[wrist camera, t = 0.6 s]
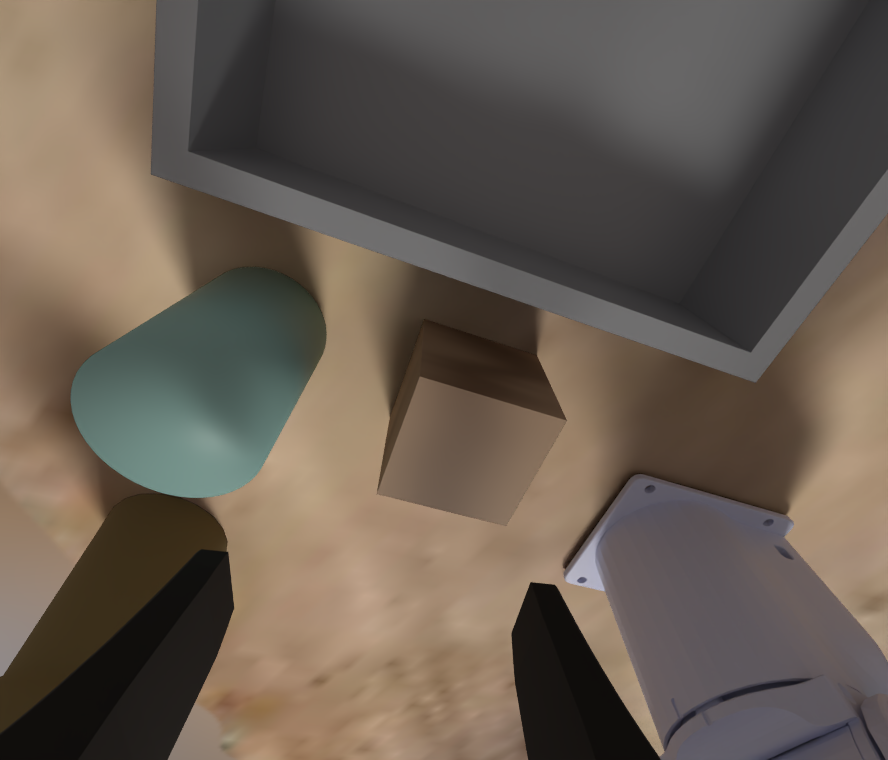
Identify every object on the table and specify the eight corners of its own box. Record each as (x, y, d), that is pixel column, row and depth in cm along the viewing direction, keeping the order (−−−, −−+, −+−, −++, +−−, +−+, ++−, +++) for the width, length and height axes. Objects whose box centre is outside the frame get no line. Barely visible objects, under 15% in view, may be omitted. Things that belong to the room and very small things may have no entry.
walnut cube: (536, 354, 19) (566, 420, 14) (491, 445, 21) (505, 526, 17) (424, 318, 18) (420, 376, 13) (389, 416, 20) (376, 493, 16)
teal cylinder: (338, 291, 17) (283, 375, 11) (313, 396, 19) (255, 514, 13) (205, 248, 16) (65, 313, 10) (195, 362, 19) (75, 472, 12)
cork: (115, 477, 21) (-150, 754, 12) (240, 517, 23) (93, 795, 13) (100, 554, 24) (-127, 834, 14) (213, 586, 25) (74, 862, 16)
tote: (964, -126, 12) (1273, -282, 7) (677, 323, 18) (755, 382, 14) (315, -542, 9) (196, -1205, 5) (234, 164, 15) (150, 174, 11)
